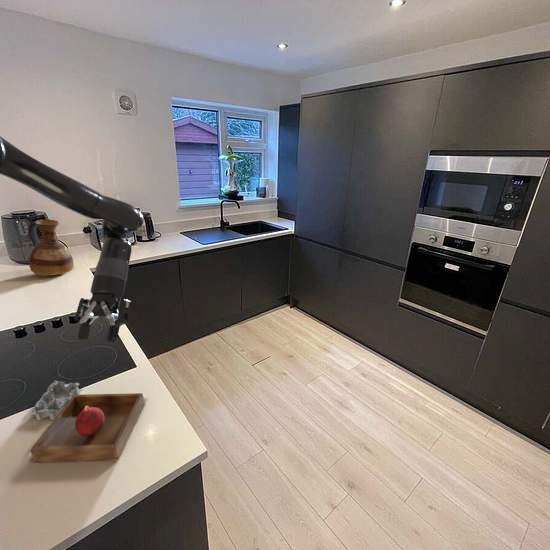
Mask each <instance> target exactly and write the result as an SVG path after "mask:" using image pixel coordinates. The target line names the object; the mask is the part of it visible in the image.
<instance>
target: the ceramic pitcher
mask: <svg viewBox="0 0 550 550" xmlns="http://www.w3.org/2000/svg"><path fill="white" fill-rule="evenodd" d="M59 225H60V222H59V221H58V220H55V219H38V220H35V221H33V222H31V223H30V224H29V226H28V236H29V239H30V241H31V242H32V244H33V248H32V250H31V252H30V255H29V258H28V267H29V269H30V270H31V273H33V274H34V275H38V276H43V277H45V276H49V275H50V276H57V274H58V275H63V274H66V273H69V272H71V271H72V270H73V269H74V265H75V263H74V259H73V255H72V254H71V252H70V250H69V249H68V247H67V246H65V244H63V243H61V242H59V241H58V239H57V230H56V229H57V227H58V226H59ZM37 228H39V229H40V231H41V241H40V239H39V237H38V234H37Z"/></svg>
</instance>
